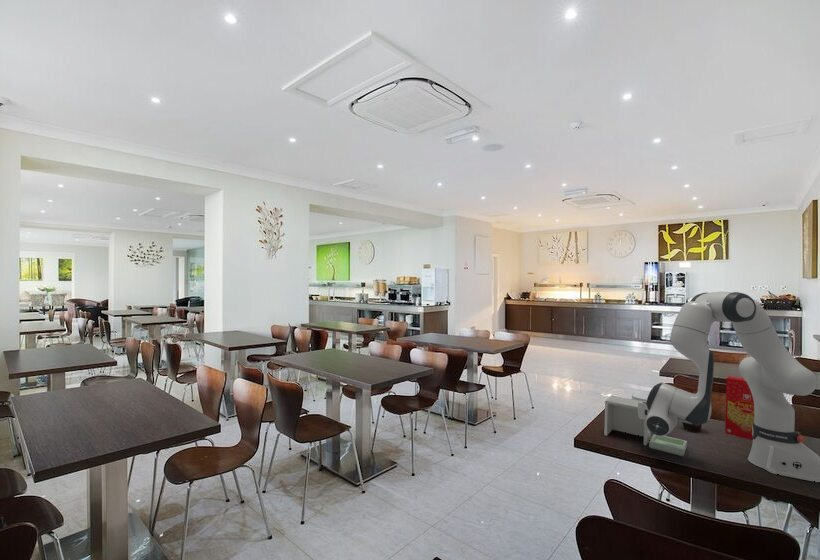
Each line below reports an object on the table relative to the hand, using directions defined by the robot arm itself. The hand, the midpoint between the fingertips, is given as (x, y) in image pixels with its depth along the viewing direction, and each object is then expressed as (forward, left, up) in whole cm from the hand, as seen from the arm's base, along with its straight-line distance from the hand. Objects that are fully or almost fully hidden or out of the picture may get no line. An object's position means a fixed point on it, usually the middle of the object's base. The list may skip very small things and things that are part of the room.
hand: (669, 407), depth 164 cm
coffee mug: (-4, -30, -16) cm, 35 cm away
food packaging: (-25, -37, -16) cm, 48 cm away
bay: (+15, -1, -16) cm, 22 cm away
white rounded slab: (+12, -17, -16) cm, 27 cm away
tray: (0, +1, -16) cm, 16 cm away
